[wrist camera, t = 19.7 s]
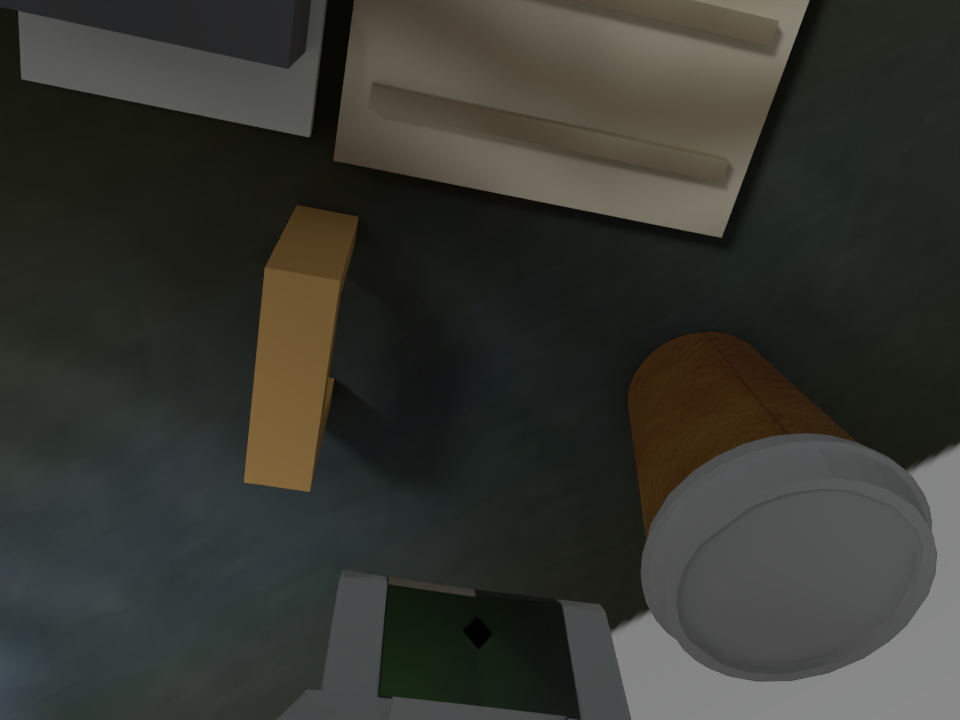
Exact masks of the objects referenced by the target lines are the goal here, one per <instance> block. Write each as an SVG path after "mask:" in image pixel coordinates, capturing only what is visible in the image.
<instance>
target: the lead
mask: <svg viewBox="0 0 960 720" xmlns="http://www.w3.org/2000/svg"><path fill="white" fill-rule="evenodd" d="M0 7H2V8H7V9H11V10H16V11H21V12H25V13H30V14H35V15H39V16H44V17H49V18H53V19H58V20H63V21H67V22H72V23H77V24H81V25H86V26H90V27H95V28H100V29H104V30H109V31H114V32H118V33H123V34H128V35H132V36H137V37H142V38H146V39H151V40H155V41H160V42H165V43H169V44H174V45H179V46H183V47H188V48H193V49H197V50H202V51H207V52H211V53H216V54H221V55H225V56H230V57H234V58H239V59H244V60H248V61H253V62H258V63H262V64H267V65H272V66H276V67H281V68H286V69H288V68H290V67H291V66H292V65H293V64H294V63H295V62H296V61H297V60H298V59H299V58H300V57H301V56H302V55H303V54H304V53H305V52H306V43H307V34H308V25H309V16H310V7H311V0H0Z"/></svg>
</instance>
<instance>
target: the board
mask: <svg viewBox="0 0 960 720" xmlns="http://www.w3.org/2000/svg"><path fill="white" fill-rule="evenodd" d="M808 3H809V0H354V5H353V13H352V21H351V29H350V36H349V44H348V52H347V59H346V67H345V75H344V82H343V90H342V98H341V105H340V113H339V121H338V128H337V136H336V144H335V151H334V159H333V161H338V162H343V163H348V164H353V165H358V166H363V167H368V168H373V169H378V170H383V171H388V172H393V173H398V174H403V175H408V176H413V177H418V178H423V179H429V180H434V181H439V182H444V183H449V184H454V185H459V186H464V187H469V188H474V189H479V190H484V191H489V192H494V193H499V194H504V195H509V196H514V197H519V198H524V199H529V200H534V201H539V202H544V203H549V204H554V205H559V206H564V207H569V208H574V209H579V210H584V211H589V212H594V213H599V214H604V215H609V216H615V217H620V218H625V219H630V220H635V221H640V222H645V223H650V224H655V225H660V226H665V227H670V228H675V229H680V230H685V231H690V232H695V233H700V234H705V235H710V236H715V237H720V238H722V235H723V233H724V230H725V227H726V225H727V222H728V219H729V217H730V214H731V211H732V208H733V206H734V203H735V200H736V198H737V195H738V192H739V190H740V187H741V184H742V181H743V179H744V176H745V173H746V171H747V168H748V165H749V163H750V160H751V157H752V154H753V152H754V149H755V146H756V144H757V141H758V138H759V135H760V133H761V130H762V127H763V125H764V122H765V119H766V117H767V114H768V111H769V108H770V106H771V103H772V100H773V98H774V95H775V92H776V90H777V87H778V84H779V81H780V79H781V76H782V73H783V71H784V68H785V65H786V62H787V60H788V57H789V54H790V52H791V49H792V46H793V44H794V41H795V38H796V35H797V33H798V30H799V27H800V25H801V22H802V19H803V17H804V14H805V11H806V8H807V6H808Z"/></svg>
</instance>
